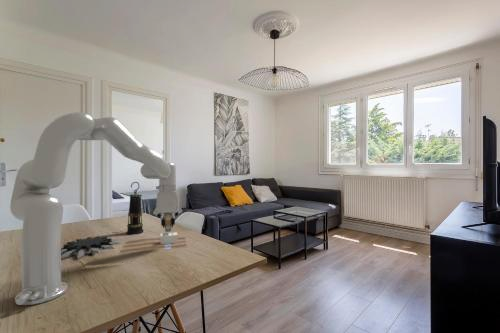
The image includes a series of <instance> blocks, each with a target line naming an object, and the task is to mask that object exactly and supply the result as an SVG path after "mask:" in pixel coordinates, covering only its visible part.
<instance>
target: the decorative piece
mask: <svg viewBox="0 0 500 333" xmlns="http://www.w3.org/2000/svg"><path fill="white" fill-rule="evenodd" d="M75 240H76V241H73V240H72V241H66V243H64V244H62V246H61V261H62V260H65V259H69V258H70V259H71V258H72V257H74V256H76V259H78V260H80V259H82V258H84V257H85V256H87V255H88V256H89V255H92V256H94V255H96V254H100V252H101V250H103V249H104V250H113V249H115V247H113V246H115V245H121V244H122V243H121V242H119V239H118V238H111V237H110V236H101V237H100V235H98V236H95V237H93V238H92V237H90V236H88V237H86V238H85V239H82V238H76V239H75Z"/></svg>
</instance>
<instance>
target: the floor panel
mask: <svg viewBox="0 0 500 333" xmlns="http://www.w3.org/2000/svg"><path fill="white" fill-rule="evenodd" d="M125 241H126V242H125V243H124V245H123V246H122V248H121V249H120V251H119V252H118V255H119V254H120V255H121V254H130V253H139V252H150V251H161V250H170V249H171V250H172V249H181V248H182V249H183V248H187V240H186V235H177V243H171V244H161V245H160V237H152V238H151V237H150V238H140V239H128V240H125Z"/></svg>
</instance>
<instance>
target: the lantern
mask: <svg viewBox="0 0 500 333" xmlns="http://www.w3.org/2000/svg"><path fill="white" fill-rule="evenodd" d="M130 184H131V185H130V188H133V185H134V184H137V185H138V187H137V189H135V190H134V191H133V193H134V194H129V195H128V196H129V205H128V208H129V209H128V212H127V217H128V218H127V219H128V220H127V225H126V227H127V231H126V235H129V234H130V235H133V236H134V234H135V235H140V234H142V233H144V229H143V224H144V223H143V217H142V216H143V212H142V196H143V194H137V192H138V190H139V189H140V184H139V182H138V181H133V182H132V183H130ZM130 235H129V236H130Z"/></svg>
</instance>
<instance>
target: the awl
mask: <svg viewBox="0 0 500 333" xmlns="http://www.w3.org/2000/svg"><path fill="white" fill-rule="evenodd" d="M164 224H165V227H164V233H171V232H172V213H164Z"/></svg>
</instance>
